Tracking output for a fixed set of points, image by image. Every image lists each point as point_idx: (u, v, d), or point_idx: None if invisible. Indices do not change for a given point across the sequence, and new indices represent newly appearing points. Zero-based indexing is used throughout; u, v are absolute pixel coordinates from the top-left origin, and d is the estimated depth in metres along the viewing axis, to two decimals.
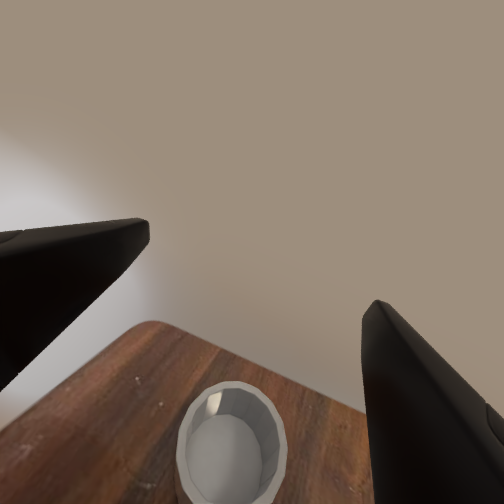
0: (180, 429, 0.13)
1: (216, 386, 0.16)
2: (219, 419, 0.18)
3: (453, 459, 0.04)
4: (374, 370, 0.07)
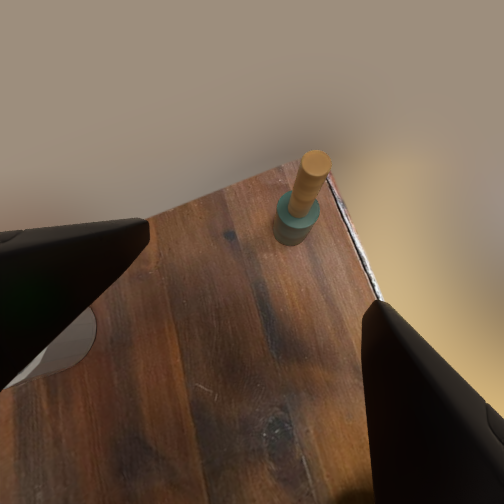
0: None
1: None
2: None
3: (453, 460, 0.04)
4: (374, 370, 0.07)
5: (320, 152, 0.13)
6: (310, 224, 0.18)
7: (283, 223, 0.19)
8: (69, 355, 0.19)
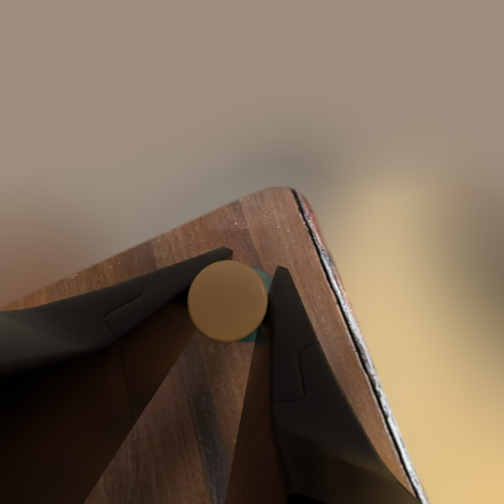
0: None
1: None
2: None
3: (262, 383, 0.04)
4: (259, 327, 0.07)
5: (238, 268, 0.05)
6: None
7: None
8: None
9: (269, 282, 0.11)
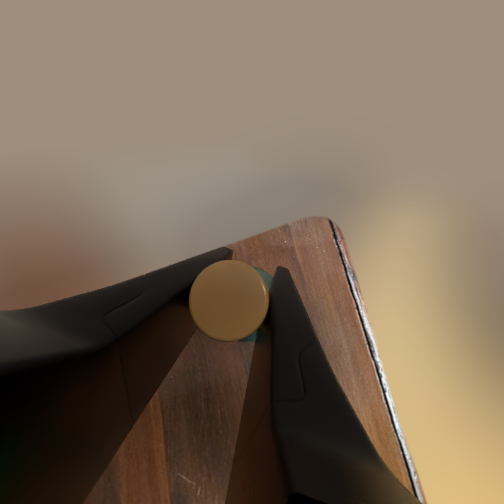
0: None
1: None
2: None
3: (263, 383, 0.04)
4: (259, 327, 0.07)
5: (240, 267, 0.05)
6: None
7: None
8: None
9: (269, 282, 0.11)
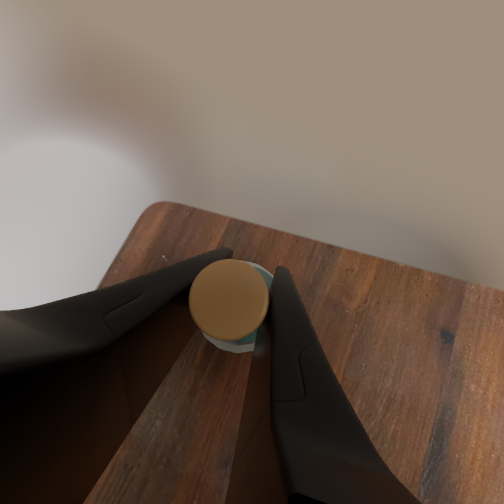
0: None
1: None
2: None
3: (263, 383, 0.04)
4: (260, 327, 0.07)
5: (240, 266, 0.05)
6: None
7: None
8: None
9: (269, 281, 0.11)
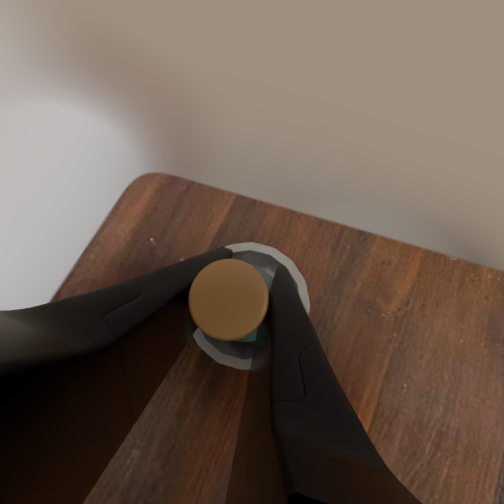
0: None
1: None
2: None
3: (263, 383, 0.04)
4: (259, 327, 0.07)
5: (239, 266, 0.05)
6: None
7: None
8: None
9: (269, 281, 0.11)
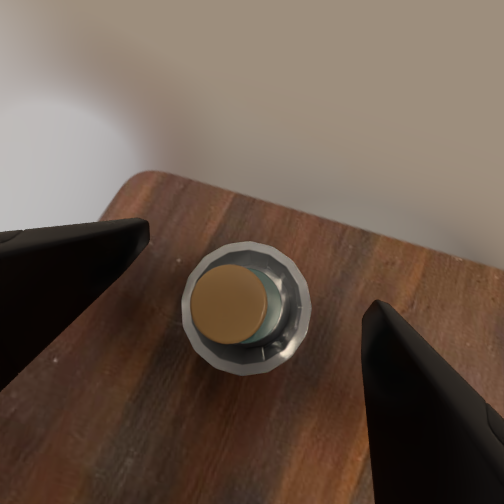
0: (182, 300, 0.12)
1: (219, 251, 0.12)
2: None
3: (454, 461, 0.04)
4: (374, 370, 0.07)
5: (239, 272, 0.05)
6: (265, 334, 0.11)
7: None
8: None
9: (269, 284, 0.11)
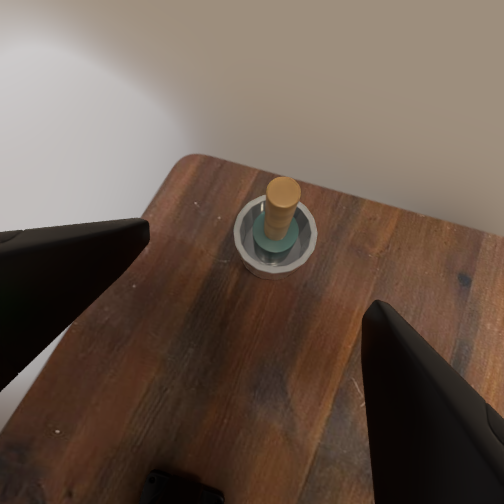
0: (234, 230, 0.18)
1: (256, 200, 0.19)
2: None
3: (453, 460, 0.04)
4: (374, 370, 0.07)
5: (288, 179, 0.12)
6: (288, 247, 0.17)
7: (259, 246, 0.17)
8: (286, 274, 0.20)
9: None
